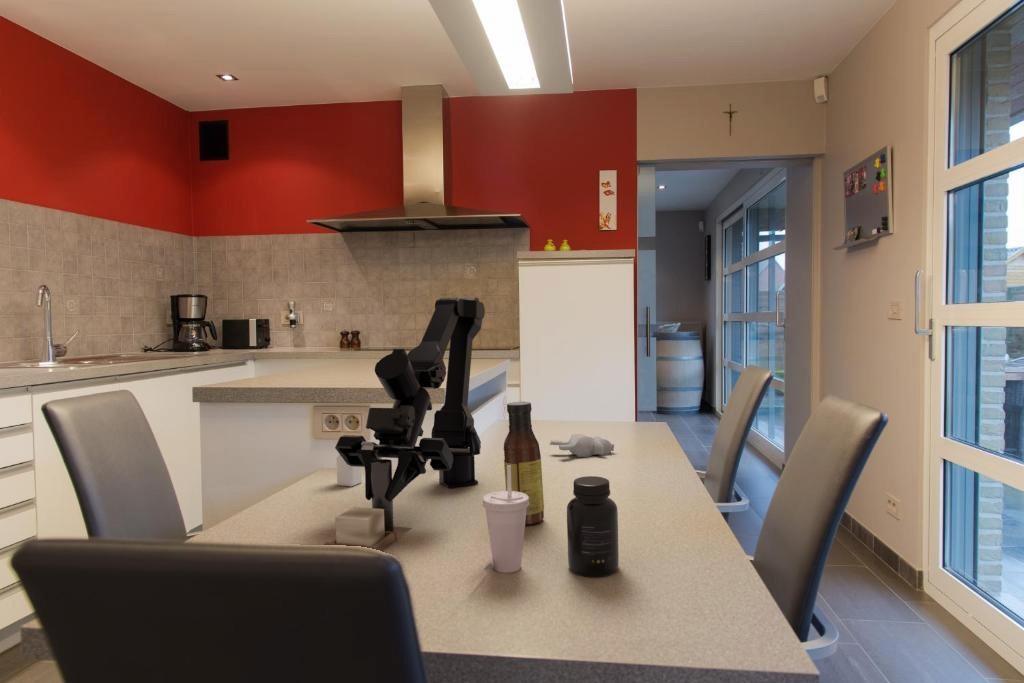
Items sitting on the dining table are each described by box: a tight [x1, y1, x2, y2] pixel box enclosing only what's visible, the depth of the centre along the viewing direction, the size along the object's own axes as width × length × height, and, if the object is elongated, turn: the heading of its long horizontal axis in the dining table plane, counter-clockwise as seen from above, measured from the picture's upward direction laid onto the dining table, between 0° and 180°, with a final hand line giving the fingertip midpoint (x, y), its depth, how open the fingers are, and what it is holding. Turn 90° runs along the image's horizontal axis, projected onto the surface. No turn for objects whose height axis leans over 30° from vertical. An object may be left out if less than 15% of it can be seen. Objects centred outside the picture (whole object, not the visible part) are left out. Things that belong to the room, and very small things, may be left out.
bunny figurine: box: [549, 433, 615, 459], centre depth 151 cm, size 10×5×15 cm
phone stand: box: [323, 458, 413, 552], centre depth 92 cm, size 13×8×12 cm, turn 164°
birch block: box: [335, 506, 385, 546], centre depth 90 cm, size 5×5×5 cm
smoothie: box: [481, 465, 529, 574], centre depth 84 cm, size 6×6×14 cm
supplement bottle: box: [566, 475, 620, 578], centre depth 83 cm, size 7×7×12 cm
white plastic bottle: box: [336, 454, 363, 487], centre depth 129 cm, size 4×4×10 cm
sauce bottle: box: [503, 401, 545, 526], centre depth 103 cm, size 7×6×20 cm
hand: (378, 499), depth 95 cm, fingers closed on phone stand, 3 cm apart
